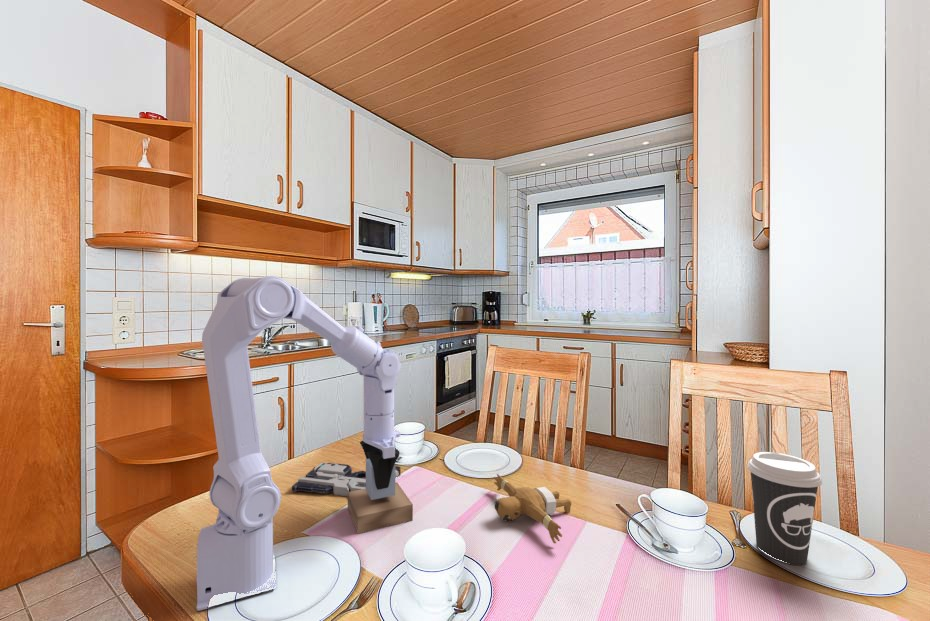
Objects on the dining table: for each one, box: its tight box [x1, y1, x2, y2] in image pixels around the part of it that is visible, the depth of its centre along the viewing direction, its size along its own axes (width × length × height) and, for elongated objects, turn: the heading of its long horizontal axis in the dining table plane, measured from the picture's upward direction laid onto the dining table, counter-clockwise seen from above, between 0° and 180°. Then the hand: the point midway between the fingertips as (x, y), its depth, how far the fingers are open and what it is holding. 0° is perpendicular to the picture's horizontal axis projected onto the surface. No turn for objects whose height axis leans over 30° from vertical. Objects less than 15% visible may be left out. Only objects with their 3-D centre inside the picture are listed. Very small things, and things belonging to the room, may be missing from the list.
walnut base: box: [347, 481, 414, 535], centre depth 77 cm, size 10×10×3 cm
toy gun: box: [291, 461, 401, 497], centre depth 90 cm, size 3×20×15 cm
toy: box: [493, 473, 572, 544], centre depth 76 cm, size 16×16×5 cm
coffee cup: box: [746, 451, 823, 566], centre depth 66 cm, size 10×10×15 cm
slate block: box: [365, 458, 396, 500], centre depth 77 cm, size 4×4×6 cm
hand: (379, 482), depth 77 cm, fingers closed on slate block, 4 cm apart
